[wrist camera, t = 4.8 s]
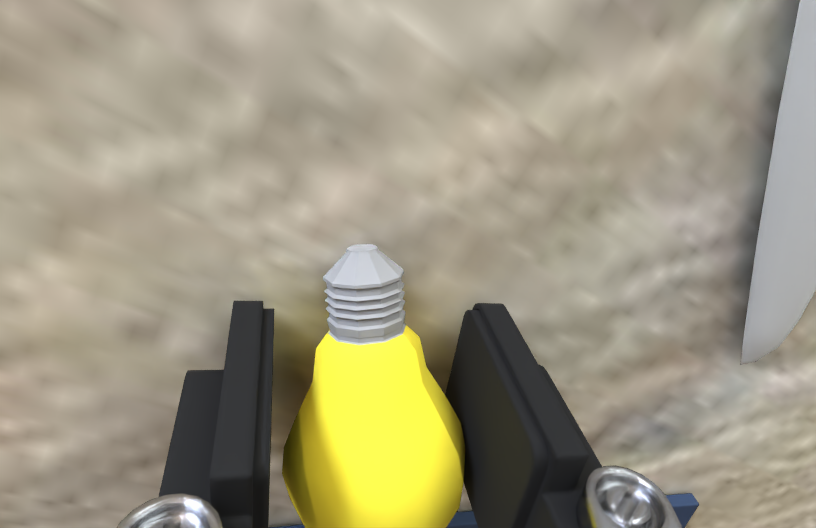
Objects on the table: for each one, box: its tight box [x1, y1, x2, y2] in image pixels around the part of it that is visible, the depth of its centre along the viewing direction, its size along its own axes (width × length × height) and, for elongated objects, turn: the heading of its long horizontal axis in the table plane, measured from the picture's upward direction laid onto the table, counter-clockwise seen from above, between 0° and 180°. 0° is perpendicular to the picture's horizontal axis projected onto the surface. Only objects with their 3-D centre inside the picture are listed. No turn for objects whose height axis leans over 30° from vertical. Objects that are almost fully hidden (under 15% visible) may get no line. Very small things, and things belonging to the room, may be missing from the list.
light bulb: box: [282, 244, 465, 528], centre depth 10 cm, size 3×6×4 cm, turn 179°
